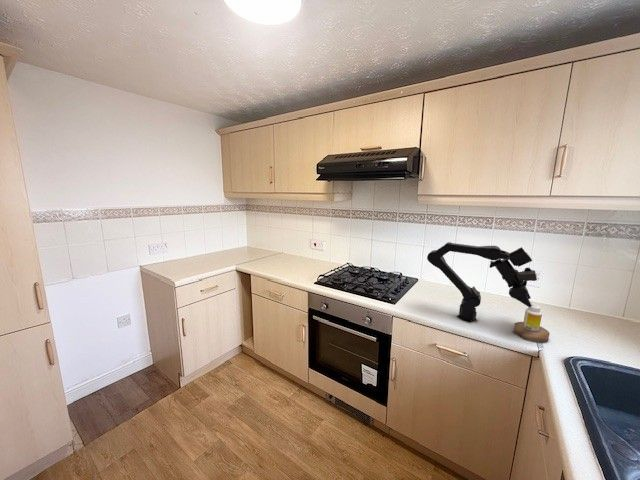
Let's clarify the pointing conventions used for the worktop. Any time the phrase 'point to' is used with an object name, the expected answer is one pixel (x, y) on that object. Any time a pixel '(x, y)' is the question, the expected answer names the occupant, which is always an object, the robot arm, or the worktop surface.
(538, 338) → the walnut platform
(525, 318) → the supplement bottle
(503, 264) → the robot arm
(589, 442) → the worktop surface
